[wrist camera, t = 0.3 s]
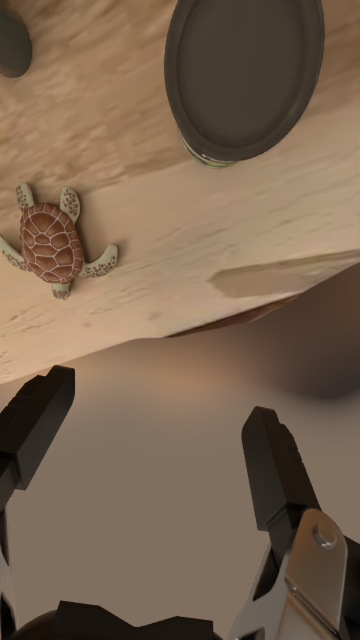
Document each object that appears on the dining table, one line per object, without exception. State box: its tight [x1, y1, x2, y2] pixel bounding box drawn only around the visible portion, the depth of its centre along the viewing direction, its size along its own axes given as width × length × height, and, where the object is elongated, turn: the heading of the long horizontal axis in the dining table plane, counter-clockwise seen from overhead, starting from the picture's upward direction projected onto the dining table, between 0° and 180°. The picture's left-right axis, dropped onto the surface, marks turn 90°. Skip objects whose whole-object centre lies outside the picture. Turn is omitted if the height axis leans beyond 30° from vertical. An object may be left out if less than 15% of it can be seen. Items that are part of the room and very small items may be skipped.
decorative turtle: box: [0, 182, 117, 300], centre depth 34 cm, size 18×17×5 cm
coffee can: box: [164, 0, 325, 168], centre depth 22 cm, size 10×10×14 cm
